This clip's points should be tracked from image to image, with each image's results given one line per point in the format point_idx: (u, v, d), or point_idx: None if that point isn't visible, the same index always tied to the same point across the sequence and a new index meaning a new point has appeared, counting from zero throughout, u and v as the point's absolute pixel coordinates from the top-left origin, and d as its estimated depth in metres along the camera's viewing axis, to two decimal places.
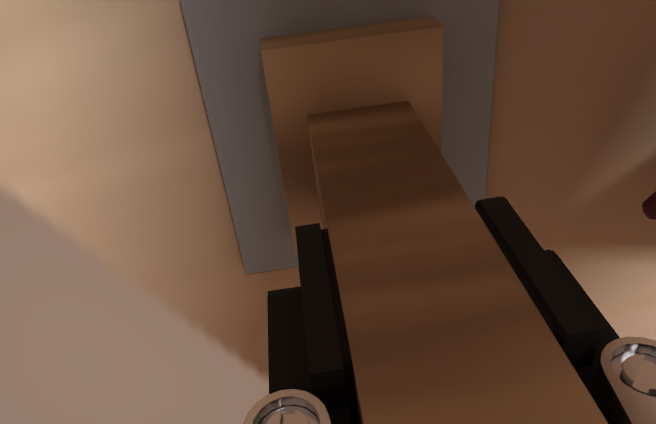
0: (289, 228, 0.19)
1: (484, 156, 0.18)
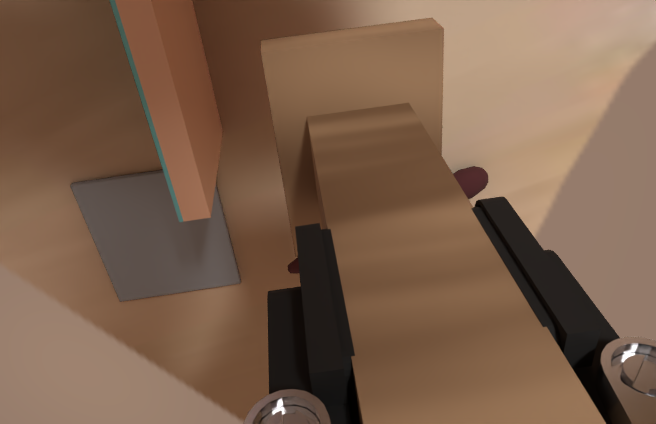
0: (138, 279, 0.39)
1: (228, 245, 0.38)
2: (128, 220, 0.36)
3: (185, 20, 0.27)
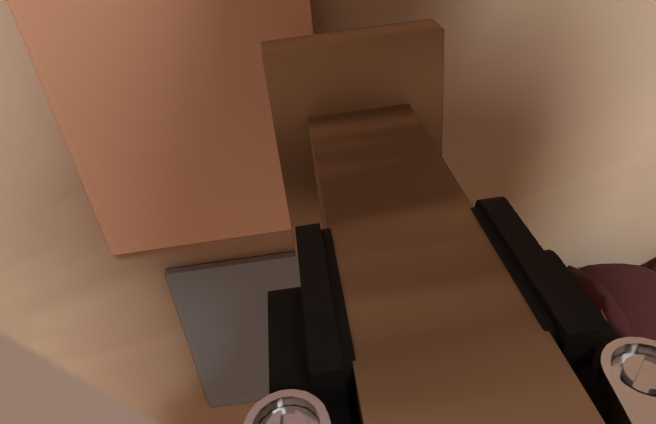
0: (237, 382, 0.30)
1: None
2: (235, 315, 0.27)
3: (215, 66, 0.20)
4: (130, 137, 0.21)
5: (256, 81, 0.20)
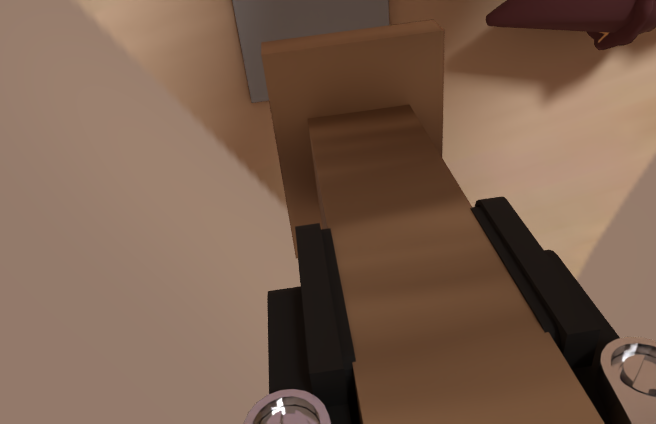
0: None
1: None
2: None
3: None
4: None
5: None
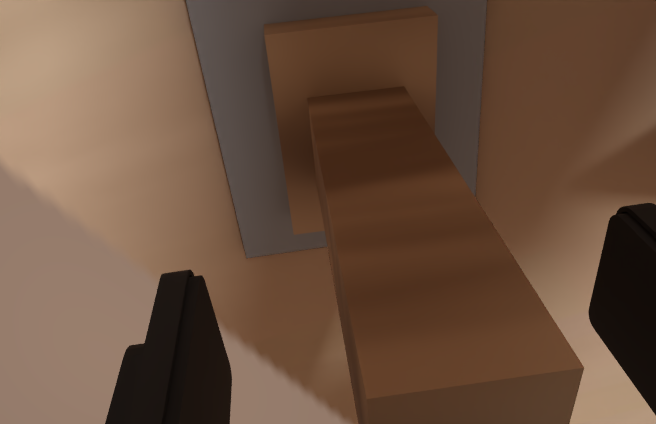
0: (288, 213, 0.20)
1: (474, 144, 0.19)
2: None
3: None
4: None
5: None
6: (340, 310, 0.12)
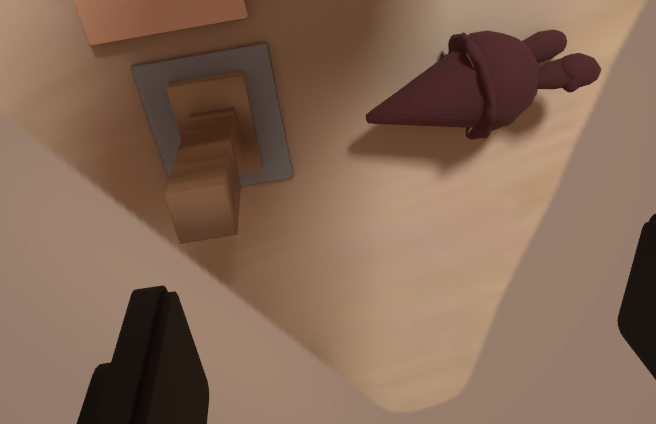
0: None
1: (282, 133, 0.39)
2: None
3: None
4: None
5: None
6: None
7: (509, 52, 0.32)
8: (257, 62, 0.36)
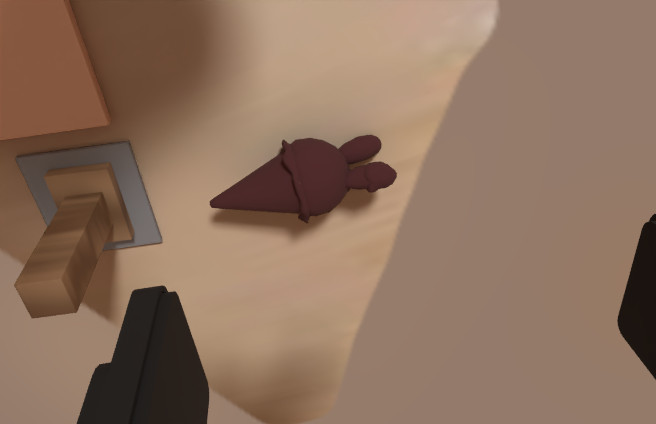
0: None
1: (148, 209, 0.47)
2: None
3: (18, 31, 0.37)
4: None
5: (42, 39, 0.38)
6: None
7: (317, 163, 0.41)
8: (121, 156, 0.44)
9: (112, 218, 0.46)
